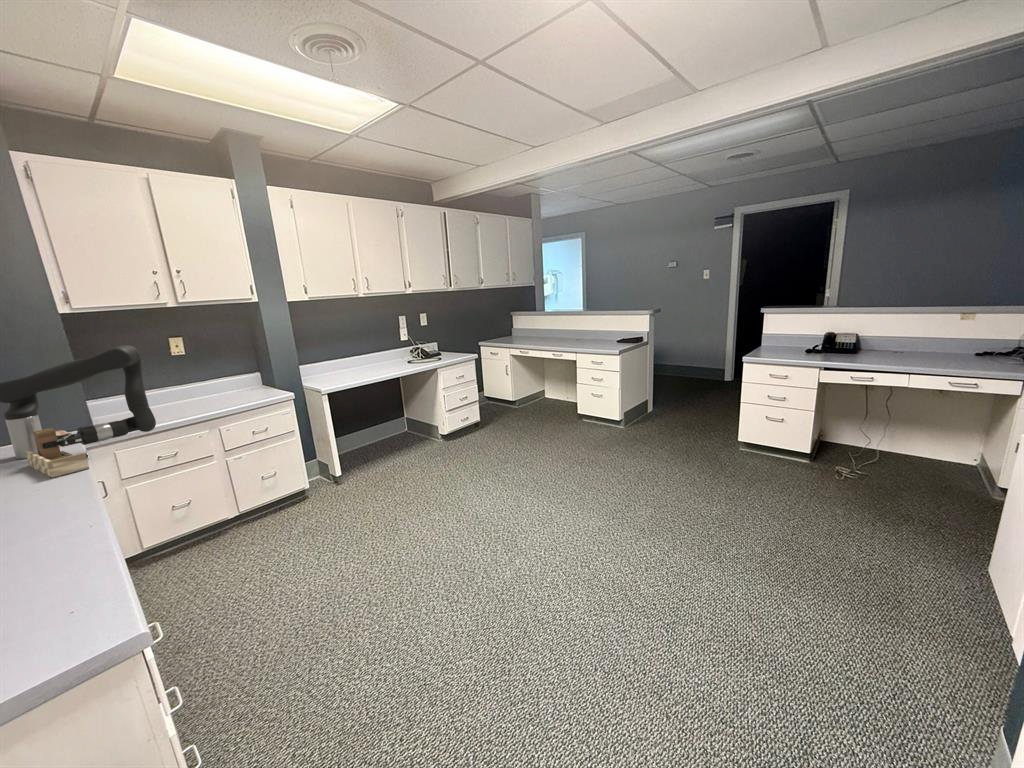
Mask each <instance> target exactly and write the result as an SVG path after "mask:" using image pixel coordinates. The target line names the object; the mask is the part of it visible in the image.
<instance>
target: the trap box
mask: <svg viewBox="0 0 1024 768" xmlns="http://www.w3.org/2000/svg"><path fill="white" fill-rule="evenodd" d="M60 452H61V457H56V458H52V459H46V458H44V457H42V456H39V455H37V454H35V453H33V452H31V451H26V456H27V458H26V459H27V463H28V465H29V467H30V468H32V469H34V470H36V471H38V472H40V473H42V474H44V475H46V476H48V477H49V478H50V479H56V478H60V477H63V476H67V475H71V474H75V473H78V472H82V471H85V470H90V467H89V464H88V458H87V455H86V452H82V453H78V454H72V453H69V452H67V451H64V450H60ZM59 476H60V477H59Z"/></svg>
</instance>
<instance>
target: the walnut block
mask: <svg viewBox="0 0 1024 768" xmlns="http://www.w3.org/2000/svg"><path fill="white" fill-rule="evenodd" d="M55 431H56V430H55V429H54V428H51V427H50V428H45V429H42V430H39V431H33V435H34V439H35V443H36V447H37V450H38V454H39V456H42V457H44V458H46V459H52V458H56V457H61V452H60V451H61V450H60V447H58V446H57V447H52V448H47V449H43V447H42V444H43V443H47V442H52V441H57V436H56V432H55Z"/></svg>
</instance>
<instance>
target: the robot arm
mask: <svg viewBox="0 0 1024 768" xmlns="http://www.w3.org/2000/svg"><path fill="white" fill-rule="evenodd" d="M118 369H119V370H120V369H122V370H123V374H124V379H125V380H124V381H125V382H124V396H125V402H126V405H127V407H128V410H129V412H131V413H132V415H133V416H131V417H127V418H124V419H120V420H115V421H110V422H103V423H97V424H91V425H86V426H81V427H78V428H77V429H76V433H72V432H68V433H67V434H62V435H57V441H52V442H47V443H43V444H42V447H43V449H47V448H52V447H57V446H58V447H59V448H60V447H61V448H62V447H68V446H72V445H78V444H81V445H83V446H87V445H90V444H91V445H92V444H95V443H98V442H104V441H108V440H111V439H115V438H119V437H123V436H126V435H128V434H129V433H132V432H136V431H137V432H138V431H140V432H143V433H148V432H149V433H150V432H151V431H153V430H154V429H155V427H156V423H157V422H156V421H157V420H156V417H155V416H154V413H153V411H152V409H151V407H150V405H149V401H148V398H147V394H146V391H145V387H144V386H145V385H144V379H143V372H142V360H141V354H140V351H139V350H138V349H137V348H136V347H135V346H133V345H130V344H129V345H126V344H125V345H124V344H123V345H119V346H116V347H112V348H110V349H108V350H105V351H103V352H101V353H98V354H96V355H94V356H91V357H88V358H80V359H75V360H70V361H67V362H63V363H61V364H58V365H55V366H52V367H49V368H46V369H44V370H41V371H39V372H35V373H33V374H31V375H28V376H24V377H21V378H17V379H11V380H5V381H1V382H0V403H2V404H9V407H8V409H7V410H6V411H5V412H4V413H3V416H4V420H5V423H6V427H7V431H8V434H9V438H10V442H11V444H12V445H11V446H12V449H13V453H14V456H15V459H17V460H23V459H27V456H26V451H31V452H33V453H35V454H37V455H39V454H38V450H37V447H36V443H35V439H34V435H33V431H39V430H43V429H42V424H41V421H40V417H39V412H38V410H39V401H38V395H37V393H41V392H46V391H51V390H55V389H59V388H64V387H68V386H71V385H75V384H77V383H82V382H83V381H86V380H88V379H90V378H93V377H94V376H96V375H99V374H101V373H105V372H109V371H114V370H118Z"/></svg>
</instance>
